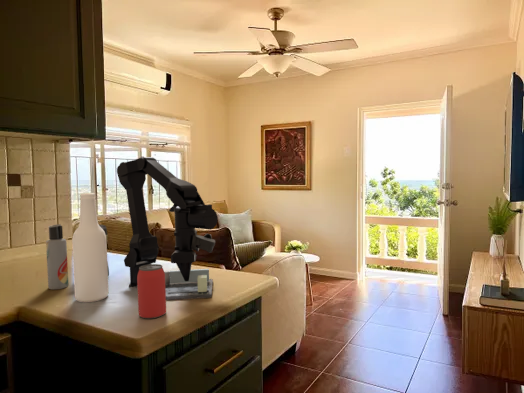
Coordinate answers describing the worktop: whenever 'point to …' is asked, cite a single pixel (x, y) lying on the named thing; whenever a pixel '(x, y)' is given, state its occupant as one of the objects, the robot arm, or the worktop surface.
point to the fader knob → (202, 283)
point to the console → (187, 290)
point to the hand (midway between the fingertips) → (186, 280)
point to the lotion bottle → (57, 258)
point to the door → (178, 278)
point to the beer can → (151, 291)
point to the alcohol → (89, 254)
